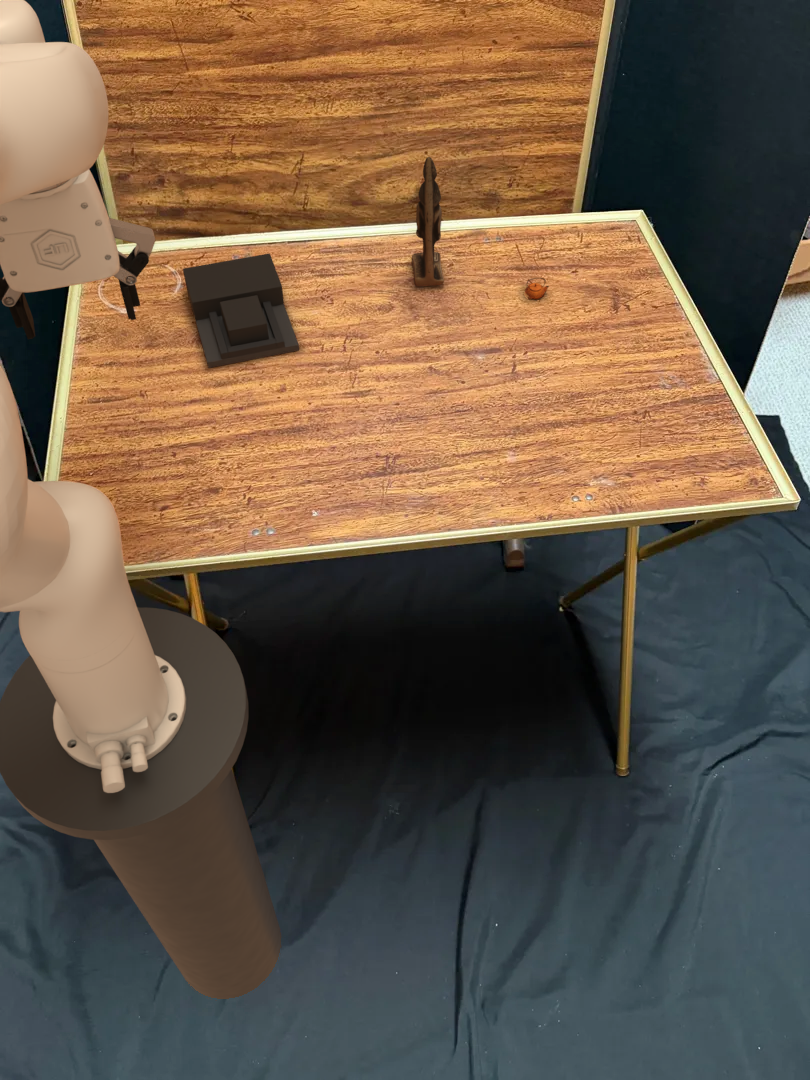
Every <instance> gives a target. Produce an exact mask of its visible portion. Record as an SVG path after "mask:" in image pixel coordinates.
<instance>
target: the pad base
mask: <svg viewBox="0 0 810 1080" xmlns="http://www.w3.org/2000/svg"><path fill="white" fill-rule="evenodd" d="M182 271H183V278H184V282H185V287H186V292H187V295H188V296H187V297H188V299H189V304H190V307H191V310H192V313H193V318H194V322H195V325H196V329H197V332H198V336H199V340H200V342H201V347H202V350H203V353H204V357H205V361H206V364H207V367H208V369H211V368H215V367H216V368H217V367H221V366H226V365H227V366H228V365H232V364H236V363H241V362H246V361H247V362H248V361H251V360H257V359H263V358H267V357H272V356H277V355H282V354H287V353H293V352H298V351H300V344H299V342H298V339H297V336H296V332H295V330H294V328H293V324H292V322H291V319H290V317H289V315H288V311H287V309H286V306H285V300H284V292H283V285H282V282H281V279H280V277H279V274H278V272H277V269H276V266H275V264H274V260H273V258H272V255H271V253H264V254H258V255H253V256H247V257H242V258H241V257H240V258H235V259H230V260H224V261H218V262H213V263H212V262H211V263H208V264H201V265H195V266H189V267H184V268H182ZM255 295H257V296H258V299H259V302H260V305H261V308H262V311H263V314H264V316H265V319H266V322H267V328H268V336H269V339H268V340H263V341H258V342H253V343H247V344H242V345H237V346H232V347H231V345H230V342H229V339H228V335H227V332H226V329H225V326H224V322H223V318H222V313H221V307H220V302H222V301H228V300H233V299H239V298H244V297H250V296H255Z"/></svg>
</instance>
